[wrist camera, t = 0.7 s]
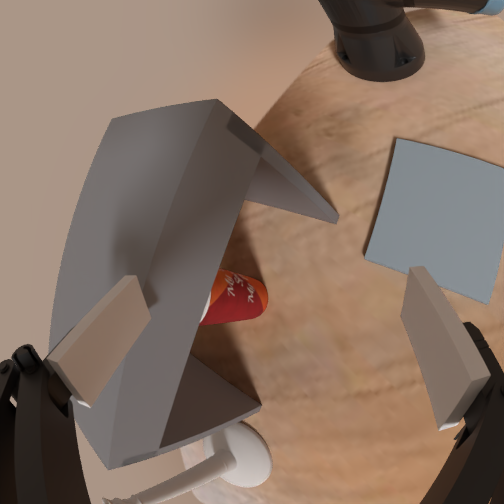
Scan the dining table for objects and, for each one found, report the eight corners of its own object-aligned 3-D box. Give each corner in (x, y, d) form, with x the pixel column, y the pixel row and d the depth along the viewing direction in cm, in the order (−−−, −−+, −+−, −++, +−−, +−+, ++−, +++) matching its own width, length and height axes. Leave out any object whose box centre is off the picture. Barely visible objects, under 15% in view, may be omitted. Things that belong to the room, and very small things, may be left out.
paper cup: (284, 284, 36) (212, 271, 24) (261, 336, 36) (183, 345, 25) (240, 262, 40) (164, 242, 29) (220, 309, 41) (142, 306, 29)
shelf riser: (242, 191, 42) (111, 118, 23) (339, 215, 33) (217, 98, 14) (184, 356, 43) (47, 363, 24) (258, 411, 34) (108, 470, 15)
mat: (397, 142, 30) (396, 138, 29) (508, 174, 21) (510, 171, 20) (365, 259, 31) (364, 258, 30) (486, 304, 21) (488, 304, 21)
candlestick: (213, 479, 35) (60, 536, 11) (198, 417, 39) (21, 453, 15) (278, 490, 29) (111, 591, 5) (264, 420, 33) (50, 500, 9)
